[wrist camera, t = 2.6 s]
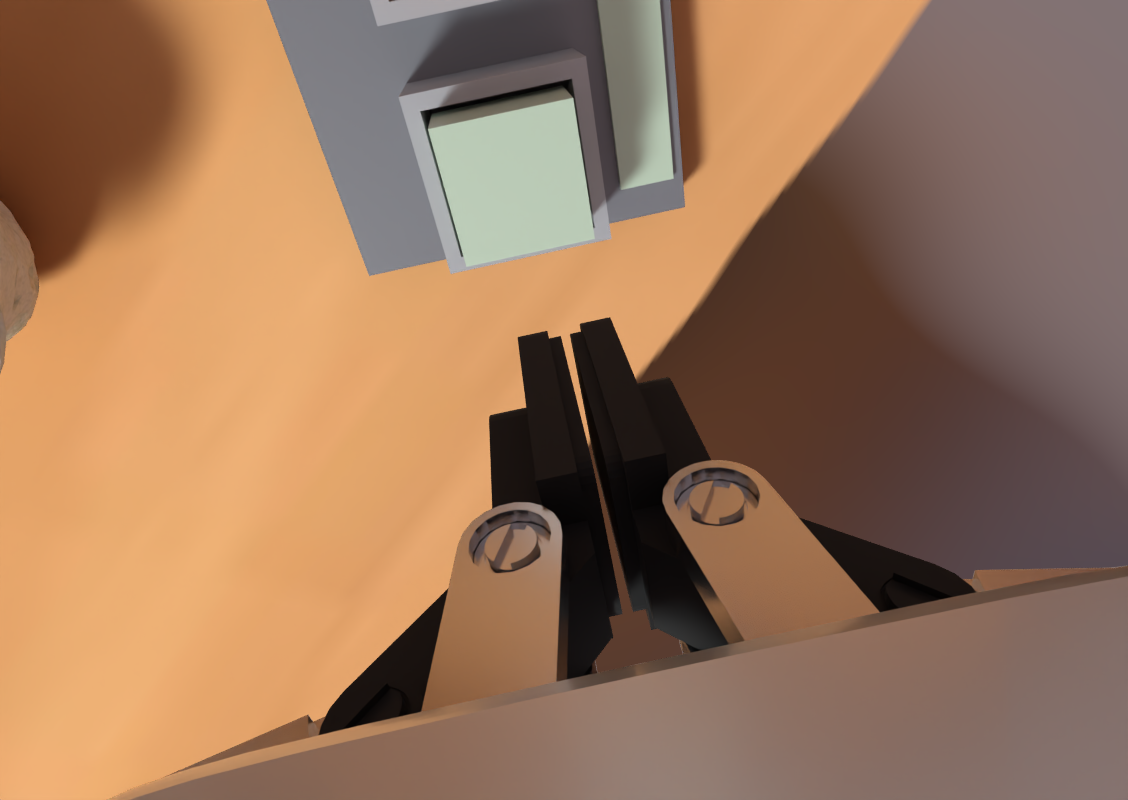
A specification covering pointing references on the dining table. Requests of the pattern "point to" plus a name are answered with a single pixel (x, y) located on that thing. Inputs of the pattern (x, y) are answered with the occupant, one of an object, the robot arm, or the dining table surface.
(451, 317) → the dining table surface
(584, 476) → the robot arm
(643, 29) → the button board
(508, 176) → the green button
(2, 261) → the bowl
